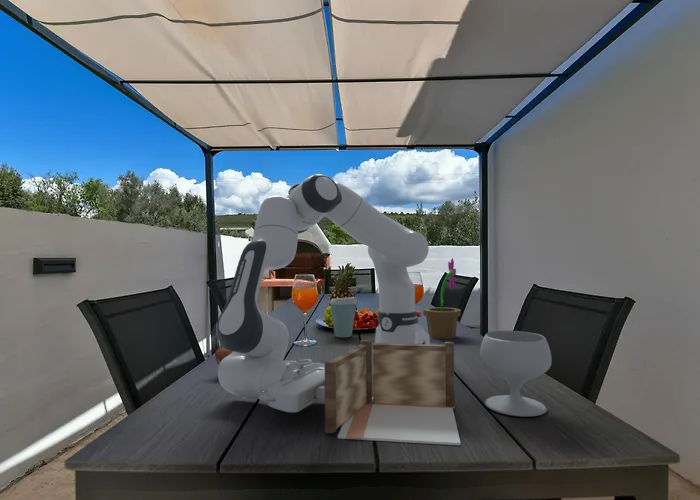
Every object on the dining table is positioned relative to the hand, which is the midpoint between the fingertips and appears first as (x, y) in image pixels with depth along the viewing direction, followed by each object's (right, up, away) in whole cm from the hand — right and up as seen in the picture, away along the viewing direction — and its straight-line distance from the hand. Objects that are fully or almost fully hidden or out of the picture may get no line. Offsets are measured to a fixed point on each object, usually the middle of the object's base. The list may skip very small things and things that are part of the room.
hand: (344, 392), depth 85 cm
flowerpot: (+36, -6, +82) cm, 90 cm away
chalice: (+36, -5, +6) cm, 37 cm away
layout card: (+11, -5, 0) cm, 12 cm away
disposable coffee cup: (-1, -6, +84) cm, 85 cm away
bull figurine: (-28, -6, +32) cm, 43 cm away
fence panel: (+1, -4, 0) cm, 5 cm away
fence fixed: (+13, -5, +8) cm, 16 cm away
